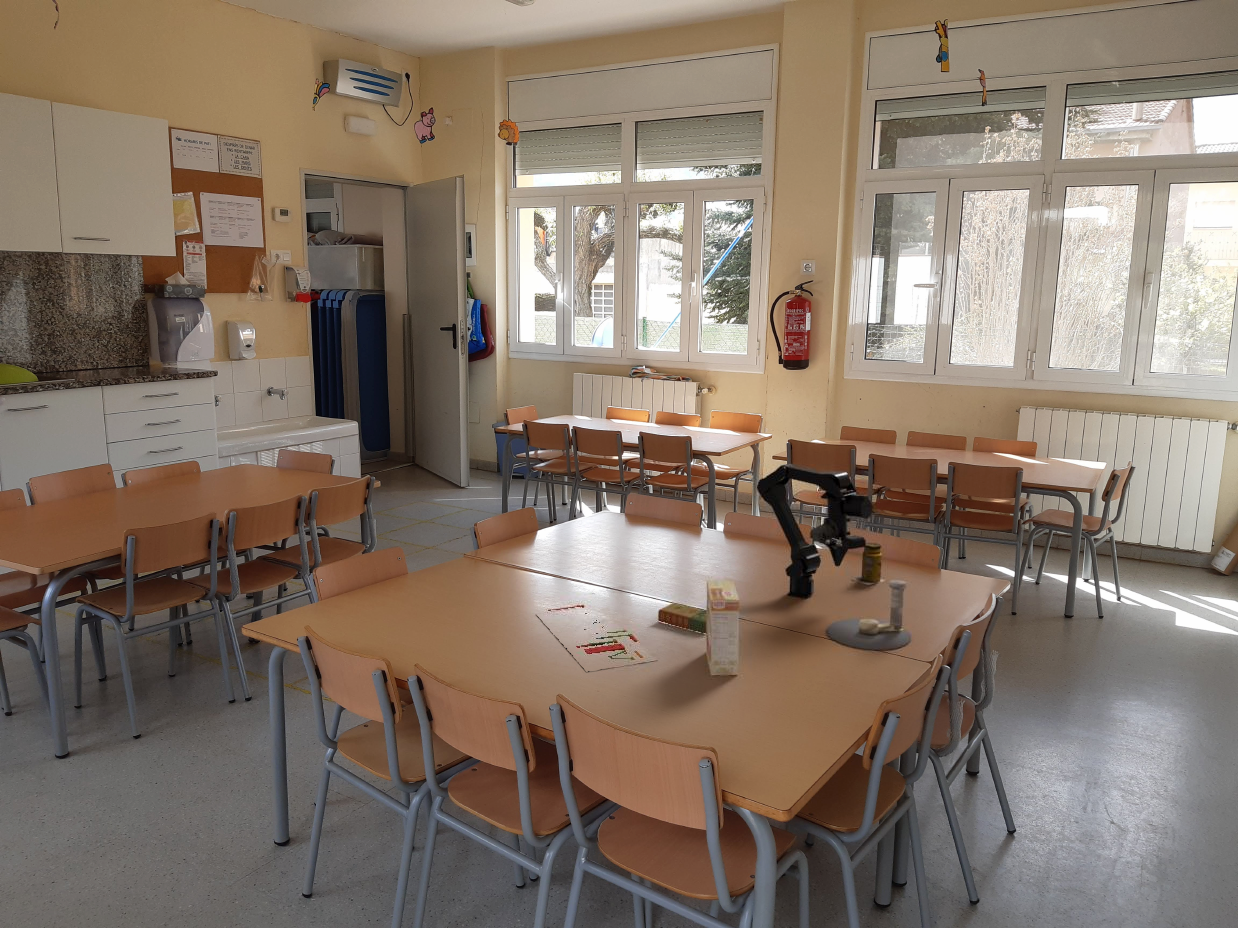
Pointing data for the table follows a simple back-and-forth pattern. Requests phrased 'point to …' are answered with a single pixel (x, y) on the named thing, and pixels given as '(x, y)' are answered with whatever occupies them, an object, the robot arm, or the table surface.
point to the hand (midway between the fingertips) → (837, 566)
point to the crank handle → (895, 616)
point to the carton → (684, 617)
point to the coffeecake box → (722, 627)
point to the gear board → (609, 647)
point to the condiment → (871, 564)
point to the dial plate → (867, 636)
